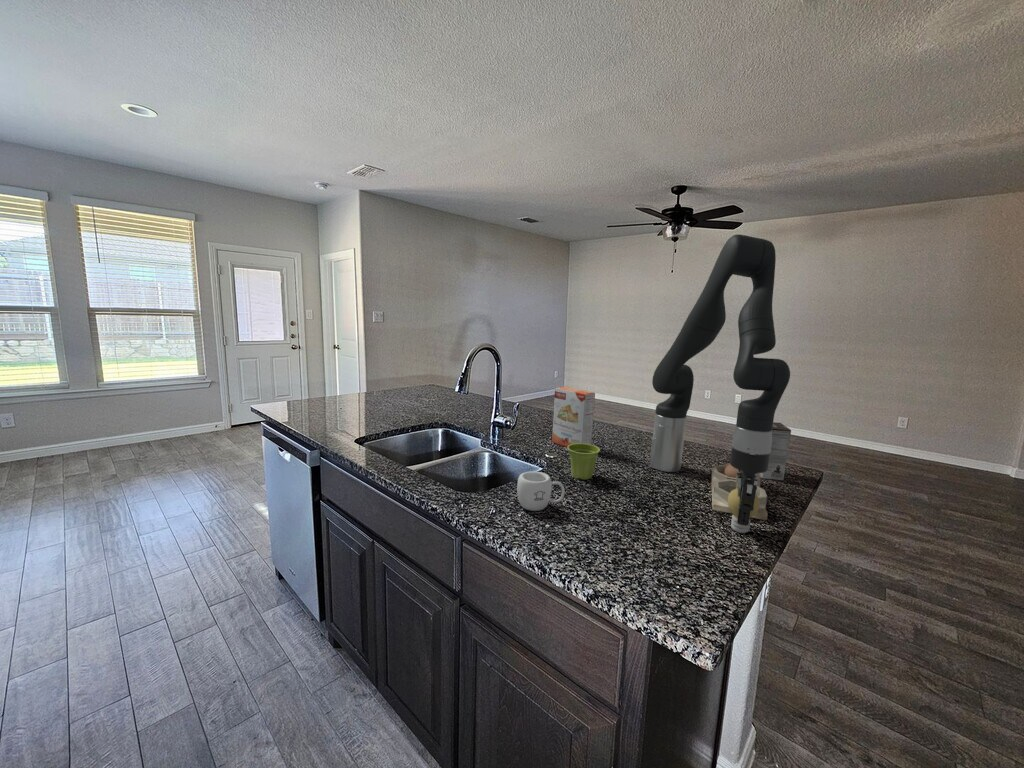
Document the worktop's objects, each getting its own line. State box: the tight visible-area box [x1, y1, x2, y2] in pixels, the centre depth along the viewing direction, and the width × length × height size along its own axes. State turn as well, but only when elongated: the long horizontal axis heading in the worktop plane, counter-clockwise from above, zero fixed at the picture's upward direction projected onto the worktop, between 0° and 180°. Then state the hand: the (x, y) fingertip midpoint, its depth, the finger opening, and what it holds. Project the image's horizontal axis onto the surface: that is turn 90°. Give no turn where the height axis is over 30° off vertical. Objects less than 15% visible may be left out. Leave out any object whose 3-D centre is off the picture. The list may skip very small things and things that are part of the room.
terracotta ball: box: [725, 462, 738, 478], centre depth 125 cm, size 6×6×6 cm
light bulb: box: [728, 488, 760, 534], centre depth 99 cm, size 6×6×10 cm
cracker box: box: [551, 386, 596, 448], centre depth 157 cm, size 14×6×21 cm, turn 43°
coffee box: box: [758, 421, 792, 481], centre depth 136 cm, size 9×6×16 cm
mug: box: [516, 470, 565, 512], centre depth 108 cm, size 12×8×8 cm
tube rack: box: [710, 464, 769, 521], centre depth 120 cm, size 12×26×4 cm, turn 157°
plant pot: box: [566, 443, 601, 481], centre depth 129 cm, size 9×9×9 cm
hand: (741, 517), depth 100 cm, fingers closed on light bulb, 6 cm apart
